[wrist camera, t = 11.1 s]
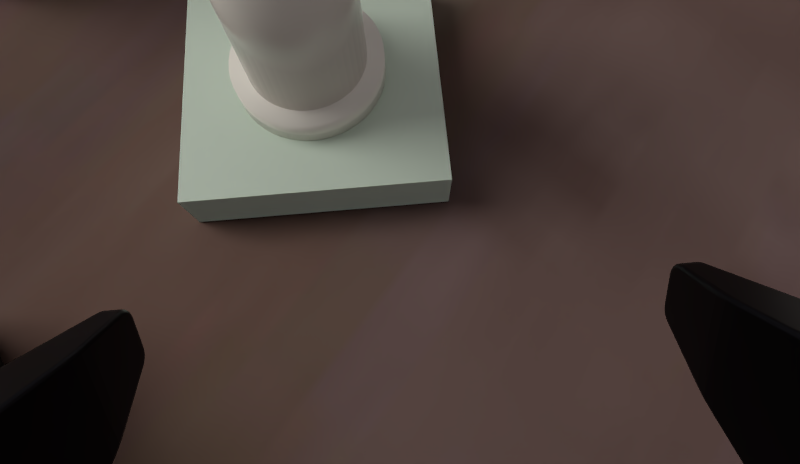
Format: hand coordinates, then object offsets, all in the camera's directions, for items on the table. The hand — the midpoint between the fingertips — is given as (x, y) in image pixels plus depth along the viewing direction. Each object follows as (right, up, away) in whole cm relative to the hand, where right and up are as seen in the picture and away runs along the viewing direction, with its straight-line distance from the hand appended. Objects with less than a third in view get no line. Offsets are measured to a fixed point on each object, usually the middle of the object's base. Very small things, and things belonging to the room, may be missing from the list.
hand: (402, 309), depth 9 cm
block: (-4, +7, +17) cm, 19 cm away
